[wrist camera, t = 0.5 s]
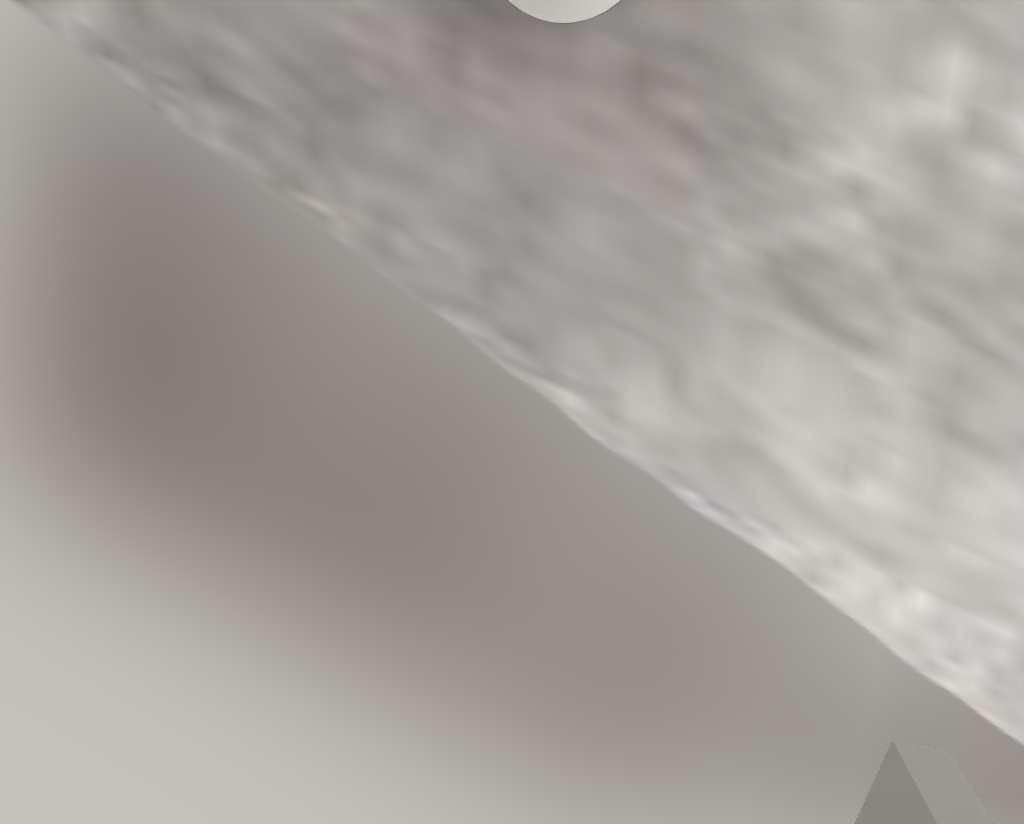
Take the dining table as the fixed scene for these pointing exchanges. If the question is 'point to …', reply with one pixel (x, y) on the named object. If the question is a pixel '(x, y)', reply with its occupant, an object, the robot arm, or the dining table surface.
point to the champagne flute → (563, 9)
